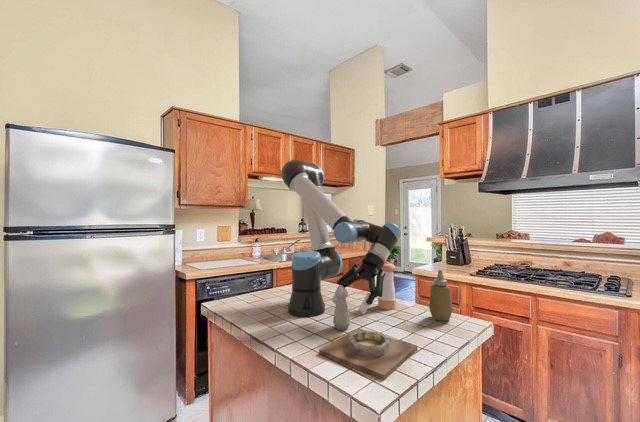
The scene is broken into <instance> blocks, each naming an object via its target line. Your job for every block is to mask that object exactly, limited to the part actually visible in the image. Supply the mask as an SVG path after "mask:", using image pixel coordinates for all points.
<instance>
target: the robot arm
mask: <svg viewBox="0 0 640 422" xmlns="http://www.w3.org/2000/svg"><path fill="white" fill-rule="evenodd" d="M280 175H281V178H282V182H283V183H284V184H285V185H286V187H287V188H288V189H289V190H290V191H292V192H295V193H297V194H298V195H299V196H300V197H301V198H302V204H303V209H304V214H305V218H306V219H305V220H306V225H307V229H308V234H309V239H310V244H311V248H310V249H309V250H308V251H307V250H306V251H300V252H297V253H295V254H294V255H293V256H292V259H291V287H292V288H291V295H290V297H289V301H288V304H287V313H289V314H290V315H292V316H296V317H314V316H319V315H321V314H324V313H326V304H325V302H324V299H323V295H322V292H321V291H322V289H321V287H322V286H321V285H322V283H321V282H322V281H324V280H329V279H332V278H334V277H336V276H337V275H339V274H340V272H341V270H342V268H343V259H342V256H341V254H339V253H338V252H337V251H336V247H335V245H334V244H333V243H331V240H330V234H329V230H328V226H329V228H331V229H332V231H333V236H334V238H335V240H336V241H337V242H339V243H341V244H351V243H354V242H362V241H364V242H367V243H371V245H370V247H369V249H368V250H367V252H366V253H365V254H364V256H363V259H362V260H361V261H362V262H361V265H360V266H358V265H357V263H356V264H354V265H353V266H351V268H350V269H349V270H348V271H347V272H346V273H345V274H343V275H342V276H341V277H340V278H338V280H336V283H337V284H338V286H337V288H336V290H335V292H336V291H337V290H339V289H343V290H346V291H347V289H346V288H347V287H349V286H351V285H352V284H354V283H356V282H357V281H361V280H365V281H368V285H369V292H367V293H366V295H365V297H364V299H363V300H362V302H361V303H360V305H359V307H358V311H359V312H360V314H362V315H365V314H366V312H367V310H368V308H369V307H370V306H371V305H372V304H373V302H374V300H375V298H379V297H382V292H383V278H384V276H385V273H384V271H383V270H382V267H383V265H384V263H385V262H386V261H387V260H388V258H389V256H390V255H391V253H392V251H393V249H394V247H395V246H396V244H397V243H398V241H399V239H400V236H401V234H402V231H401V229H400V227H399V226H398V225H397V224H395V223H393V222H385V223H384V224H383V225H382V226H381V225H377V224H374V223H371V222H368V221H365V220H362V219H358V218H355V219H353V220H352V219H351V218H350V217H348V215H347V214H345V213H344V211H342V210H341V208H339V206H337V204H335V203H334V202H333V201H332V200H331V199H330V198H329V197H328V196H327V195H326V194H325V193H324V192H323V191H322V190H323V184H324V181H325V173H324V170H323V169H322V168H321V167H320V165H317V164H315V163H313V162H307V161H303V160H299V159H291V160H289V161H287V162H285V164H284V165H283V166H282V168H281V174H280ZM375 277H376V280H375ZM330 301H332V302H333V304H334V305H336V301H337V297H336V296H335V293H334V294H333V296H332V297H331V299H330Z"/></svg>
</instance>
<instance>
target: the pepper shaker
mask: <svg viewBox="0 0 640 422" xmlns="http://www.w3.org/2000/svg"><path fill="white" fill-rule="evenodd" d="M382 270H383V271H384V273H385V276H384V278H383V292H382V297H379V296H378V297H377V307H378V309H382V310H388V311H389V310H390V311H391V310H392V311H393V310H395V309H396V307H397V301H396V300H397V299H396V298H395V297H396V296H395V295H396V289H395V284H394V272H395V270H396V267H395V265H394V264H393V263H391V262H390V263H389V261H387V260H386V262H385V263H384V265H383V267H382Z"/></svg>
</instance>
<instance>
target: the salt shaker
mask: <svg viewBox="0 0 640 422" xmlns="http://www.w3.org/2000/svg"><path fill="white" fill-rule="evenodd" d="M336 290H337V289H336ZM336 290H335V293H334V294H335V296H336V297H337V301H336V304H335V306H334V307H335V308H334V314H333V319H332V320H333V321H332V323H333V325H334V327H335V329H336V330H337V331H342V332H343V331H347V330H348V329H349V326H350V324H351V318H350V315H349V314H350V313H349V309H348V303H347V298H348V296H349V293H348V291H347V289H346V290H343V289H339V290H337V291H336Z"/></svg>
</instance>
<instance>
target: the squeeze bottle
mask: <svg viewBox="0 0 640 422" xmlns="http://www.w3.org/2000/svg"><path fill="white" fill-rule="evenodd" d="M428 305H429V306H428V308H429V312H430V314H431V317H432V319H433V320H436V321H439V322H447V321H450V319H451V315H452V314H453V304H452V294H451V288H450V286H449V285H448V280H447V279H445V277H444V273H443V269H439V270H438V272H437V276H436V278H434V279H433V284H432V285H431V286H430V296H429V304H428Z"/></svg>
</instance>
